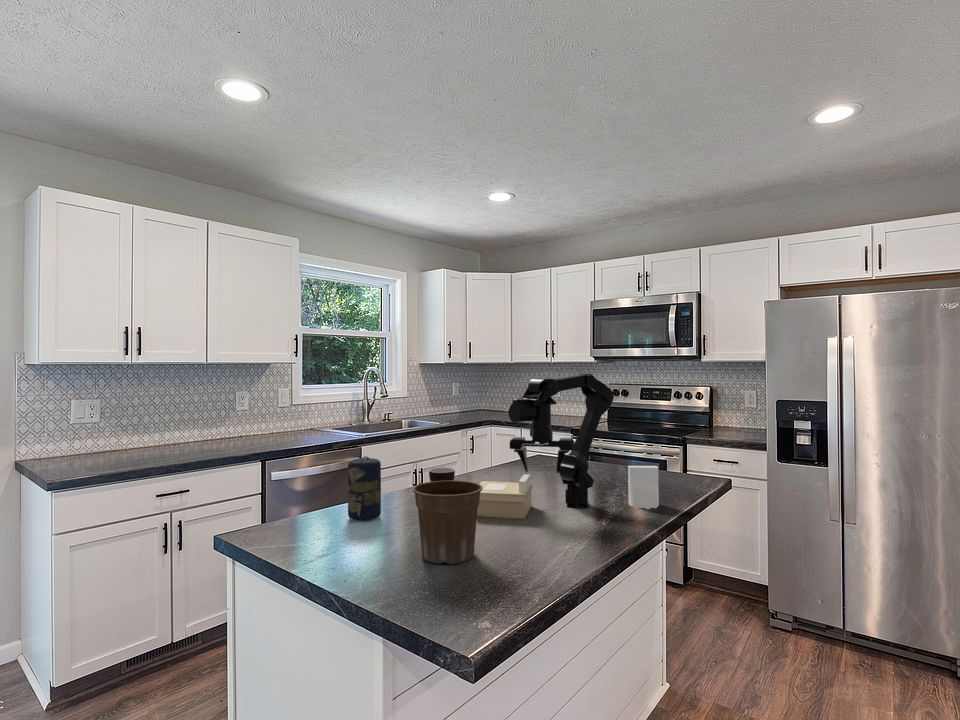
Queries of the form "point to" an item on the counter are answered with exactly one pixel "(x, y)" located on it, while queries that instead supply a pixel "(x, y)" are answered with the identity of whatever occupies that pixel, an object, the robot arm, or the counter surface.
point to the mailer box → (505, 508)
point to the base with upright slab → (643, 486)
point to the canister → (364, 489)
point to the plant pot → (447, 519)
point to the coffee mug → (441, 474)
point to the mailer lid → (506, 490)
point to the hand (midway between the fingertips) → (542, 472)
